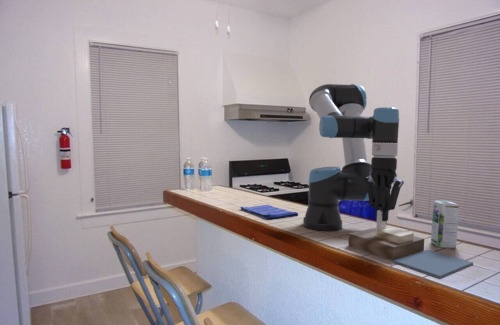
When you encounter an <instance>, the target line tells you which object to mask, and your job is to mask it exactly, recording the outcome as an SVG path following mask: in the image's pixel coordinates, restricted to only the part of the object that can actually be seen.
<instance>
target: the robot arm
mask: <svg viewBox="0 0 500 325" xmlns="http://www.w3.org/2000/svg"><path fill="white" fill-rule="evenodd" d="M367 99H368V98H367V93H366V90H365V88H364V87H363V86H362V85H360V84H354V83H352V84H337V83H336V84H335V83H334V84H333V83H332V84H331V83H327V84H322V85H319V86H318V87H316V88H315V89H314V90H312V92H311V93H310V94H309V99H308V101H309V107H310V109H311V110H313V111H314V112H315V113H316V114H317V116H318V118H319V123H318V124H319V127H318V129H319V135H320V136H321V138H329V139H342V146H343V147H342V148H343V156H344V163H345V164H344V165H343V166H342V168H340V167H339V166H323V167H317V168H313V169H312V170H310V172H309V176H308V203H307V205H308V206H307V209H306V211H305V216H304V217H303V220H302V223H303V224H302V225H303V227H305V228H307V229H312V230H314V231H324V232H325V231H326V232H329V231H330V232H331V231H334V232H335V231H339V230H342V228H343V220H342V217H341V212H340V209H339V205H340V204H339V201H356V202H357V201H361V202H364V201H367V202H368V203H369V206H370V208H374V212H375V214H374V218H375V220H376V227H375V228H376V231H377V230H379V229H384V228H387V227H386V226H387V222H388V220H389V212H390V211H393V210H395V209H396V205H397V203H398V202H397V201H398V197H399V195H400V190H401V188H402V187H403V185H404V180H402V179H401V180H400V179H399V178H398V175H397V173H396V172H397V171H396V170H397V168H398V159H397V156H398V146H399V144H398V143H399V142H398V141H399V126H400V112H399V111H400V110H399V109H398V108H397V107H389V106H387V107H386V106H385V107H376V108H374V110H373V113H372V114H373V115H371V116H368V115H367V116H363V115H362V113H363V112H364V111H365V109H366V107H367ZM365 139H367V140H368V139H369V140H372V142H371V143H372V145H371V155H372V157H371V161H370V162H371V163H370V162H368V159H367V157H368V156H367V152H366V144H365Z"/></svg>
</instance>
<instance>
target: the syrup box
mask: <svg viewBox="0 0 500 325" xmlns="http://www.w3.org/2000/svg"><path fill="white" fill-rule="evenodd" d="M459 215H460V204H458V203H455V202H452V201H449V200H434V201H433V208H432V221H431V222H432V223H431V231H430V232H431V234H430V235H431V236H430V243H431V244H433V245H435V246H436V247H438V248H445V249H446V248H448V249H451V248H452V249H453V248H454V249H456V248H457V241H458V240H457V239H458V227H459V226H458V224H459V217H460V216H459Z"/></svg>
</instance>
